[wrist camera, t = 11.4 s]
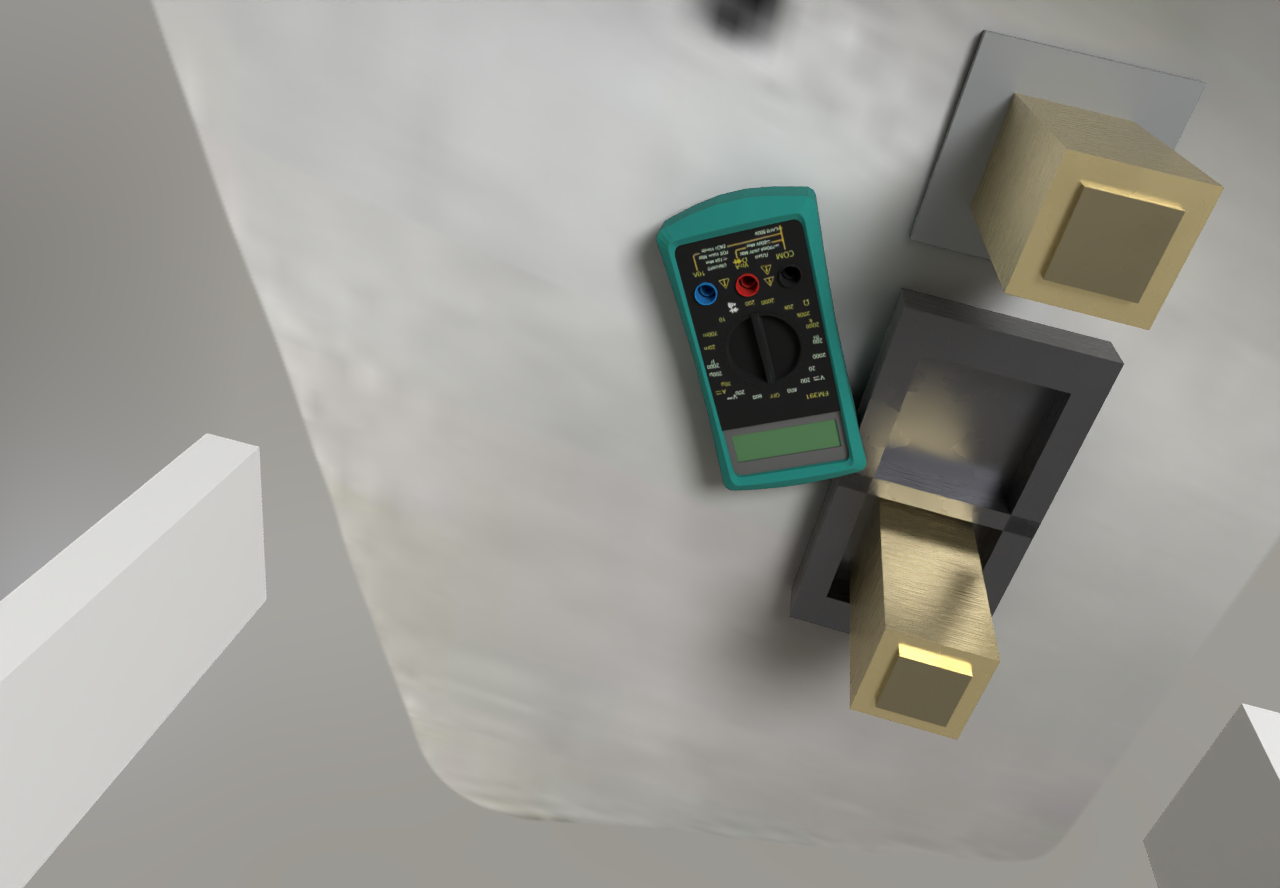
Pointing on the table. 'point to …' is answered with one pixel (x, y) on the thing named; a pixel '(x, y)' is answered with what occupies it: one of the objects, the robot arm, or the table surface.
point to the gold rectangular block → (919, 620)
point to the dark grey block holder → (959, 438)
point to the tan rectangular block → (1088, 211)
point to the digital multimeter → (764, 336)
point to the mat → (1046, 76)
